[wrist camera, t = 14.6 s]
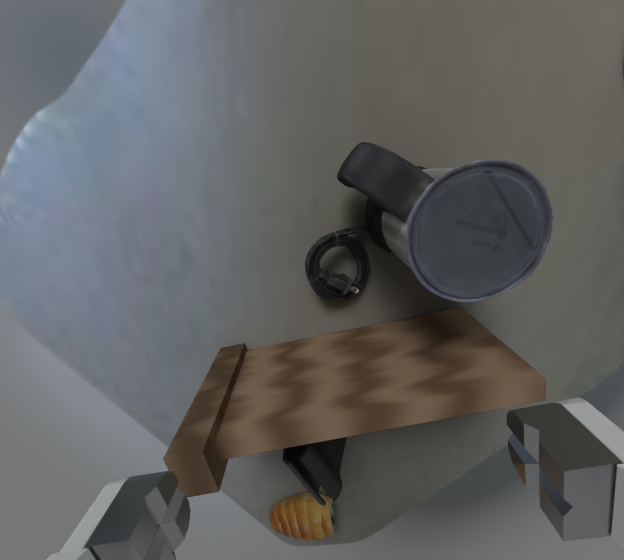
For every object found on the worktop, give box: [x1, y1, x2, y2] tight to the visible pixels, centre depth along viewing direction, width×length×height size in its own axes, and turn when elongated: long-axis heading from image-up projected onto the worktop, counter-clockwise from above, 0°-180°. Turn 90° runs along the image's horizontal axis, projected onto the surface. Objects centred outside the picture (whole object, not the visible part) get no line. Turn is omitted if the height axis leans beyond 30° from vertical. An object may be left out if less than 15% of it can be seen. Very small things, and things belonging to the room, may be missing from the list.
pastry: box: [270, 492, 335, 541], centre depth 45 cm, size 9×7×4 cm
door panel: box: [163, 307, 546, 497], centre depth 31 cm, size 29×5×16 cm, turn 102°
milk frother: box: [305, 142, 553, 303], centre depth 28 cm, size 14×16×15 cm
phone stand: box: [283, 437, 347, 506], centre depth 35 cm, size 9×6×12 cm, turn 121°
